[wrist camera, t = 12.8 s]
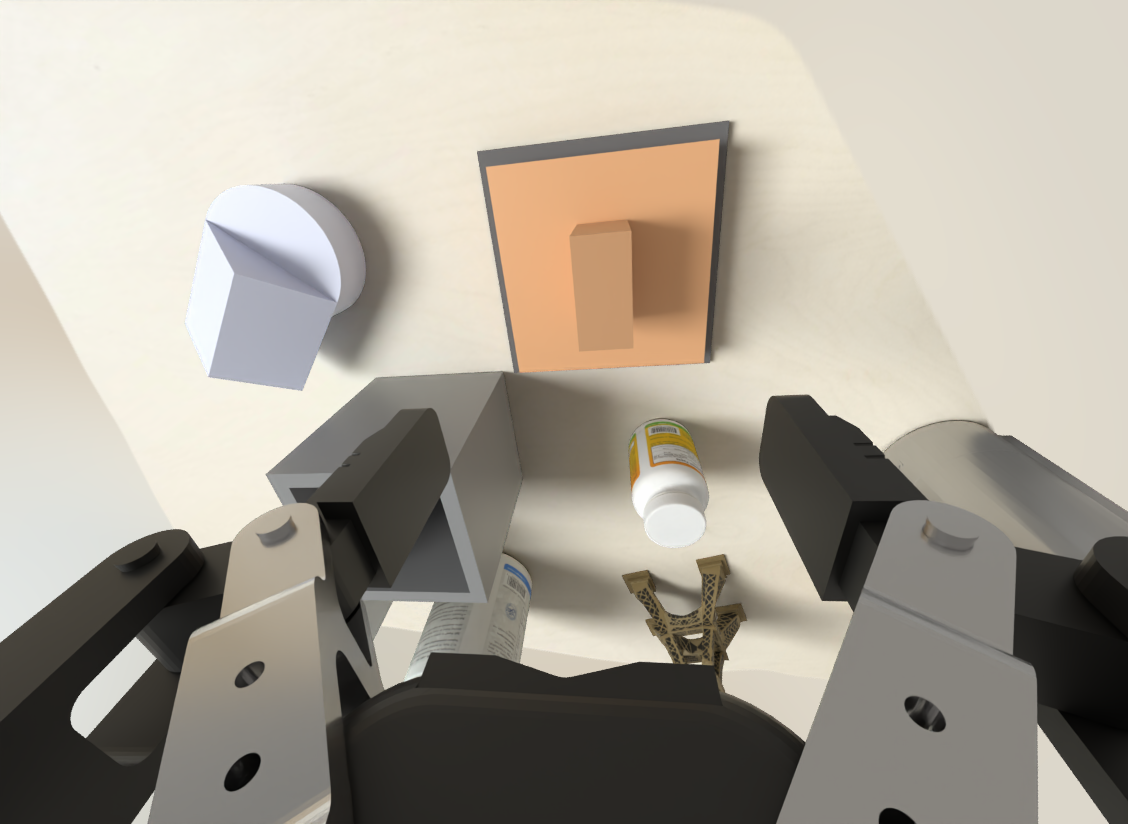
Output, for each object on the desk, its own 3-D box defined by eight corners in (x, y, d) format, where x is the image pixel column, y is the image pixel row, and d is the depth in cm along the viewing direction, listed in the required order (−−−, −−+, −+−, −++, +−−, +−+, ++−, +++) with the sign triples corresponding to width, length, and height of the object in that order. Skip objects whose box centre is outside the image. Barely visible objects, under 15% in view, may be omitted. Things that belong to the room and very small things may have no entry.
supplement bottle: (654, 479, 38) (667, 567, 29) (615, 441, 36) (616, 523, 28) (705, 446, 35) (735, 531, 27) (665, 405, 34) (684, 481, 25)
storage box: (503, 371, 34) (449, 470, 22) (522, 479, 39) (487, 603, 28) (375, 377, 35) (265, 474, 24) (411, 481, 40) (335, 599, 29)
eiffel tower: (746, 617, 46) (867, 1012, 24) (652, 633, 49) (687, 998, 27) (723, 553, 41) (847, 966, 20) (622, 574, 44) (634, 955, 23)
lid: (710, 141, 25) (749, 130, 18) (697, 350, 31) (722, 400, 24) (495, 167, 26) (455, 165, 19) (525, 359, 33) (502, 409, 26)
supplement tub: (447, 594, 49) (390, 742, 36) (450, 537, 44) (385, 686, 31) (529, 610, 49) (500, 764, 36) (541, 555, 44) (513, 711, 31)
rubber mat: (727, 121, 24) (729, 120, 24) (708, 360, 32) (709, 362, 31) (478, 151, 26) (476, 151, 26) (515, 370, 34) (514, 372, 33)
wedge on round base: (327, 372, 35) (384, 238, 29) (271, 412, 30) (329, 254, 24) (221, 310, 33) (260, 153, 28) (140, 339, 28) (166, 148, 22)
